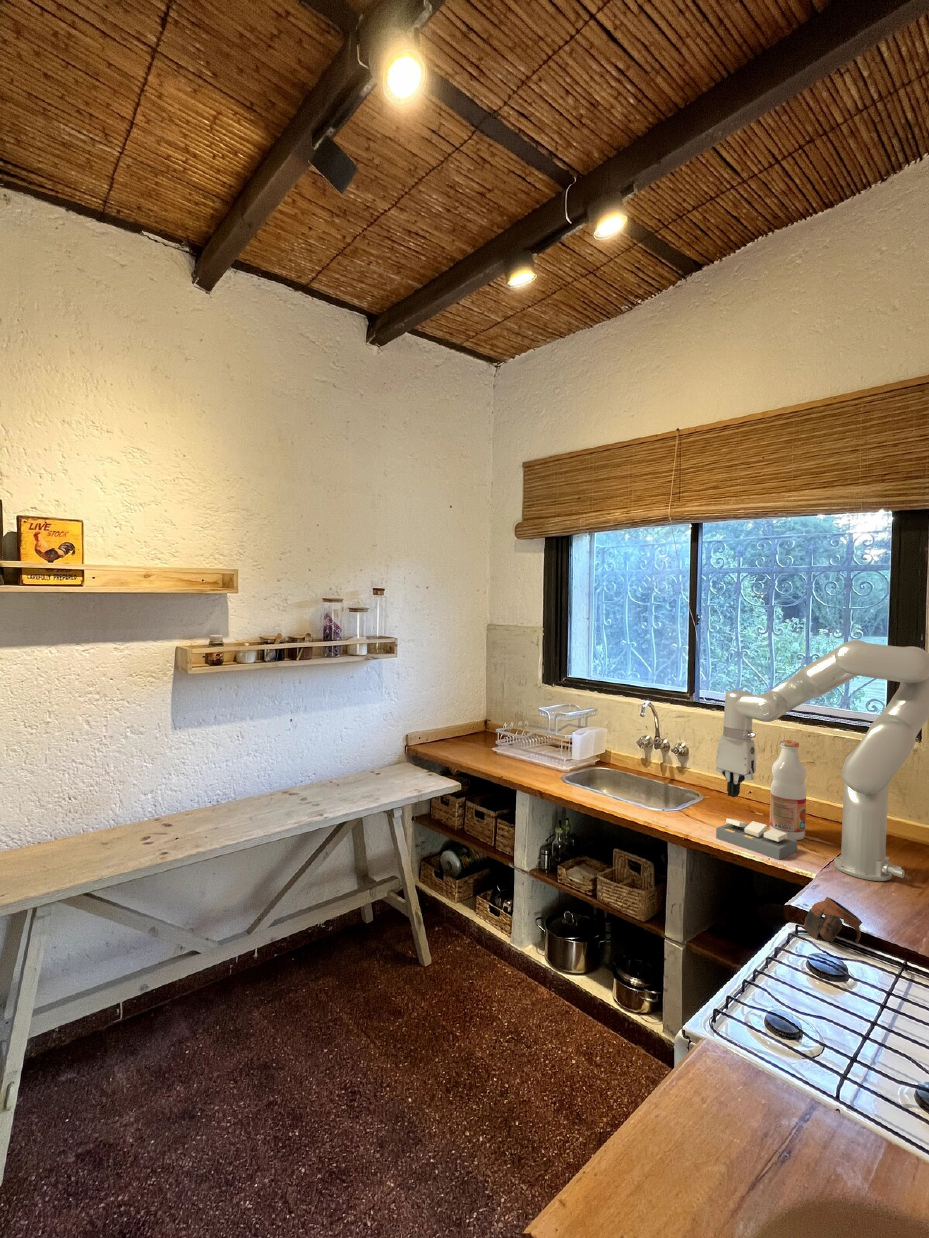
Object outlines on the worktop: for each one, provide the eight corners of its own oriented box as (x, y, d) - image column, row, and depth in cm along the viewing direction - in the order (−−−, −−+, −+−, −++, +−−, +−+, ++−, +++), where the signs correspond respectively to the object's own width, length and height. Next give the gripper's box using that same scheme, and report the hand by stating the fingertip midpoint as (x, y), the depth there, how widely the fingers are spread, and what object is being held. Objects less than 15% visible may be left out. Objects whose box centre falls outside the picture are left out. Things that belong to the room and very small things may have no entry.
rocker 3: (786, 838, 165) (787, 833, 165) (778, 842, 162) (778, 837, 162) (772, 833, 168) (772, 828, 168) (763, 837, 165) (763, 832, 165)
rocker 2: (767, 829, 170) (766, 825, 169) (758, 837, 167) (758, 833, 167) (753, 825, 173) (752, 820, 173) (744, 833, 170) (744, 828, 170)
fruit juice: (764, 827, 184) (767, 737, 183) (797, 830, 182) (800, 739, 182) (775, 839, 174) (778, 744, 174) (810, 841, 173) (813, 746, 172)
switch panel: (796, 851, 166) (797, 840, 166) (778, 860, 160) (779, 848, 160) (734, 830, 180) (735, 820, 180) (716, 838, 174) (716, 827, 174)
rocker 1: (747, 828, 174) (748, 823, 174) (739, 827, 171) (739, 822, 171) (734, 824, 177) (735, 819, 177) (725, 823, 174) (726, 818, 174)
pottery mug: (799, 920, 129) (821, 889, 129) (844, 954, 124) (867, 922, 124) (798, 930, 119) (822, 897, 119) (848, 968, 114) (872, 933, 114)
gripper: (769, 737, 169) (765, 801, 170) (719, 727, 181) (715, 786, 182) (756, 740, 164) (751, 805, 165) (706, 729, 176) (702, 790, 177)
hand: (733, 795), depth 173 cm, fingers closed
